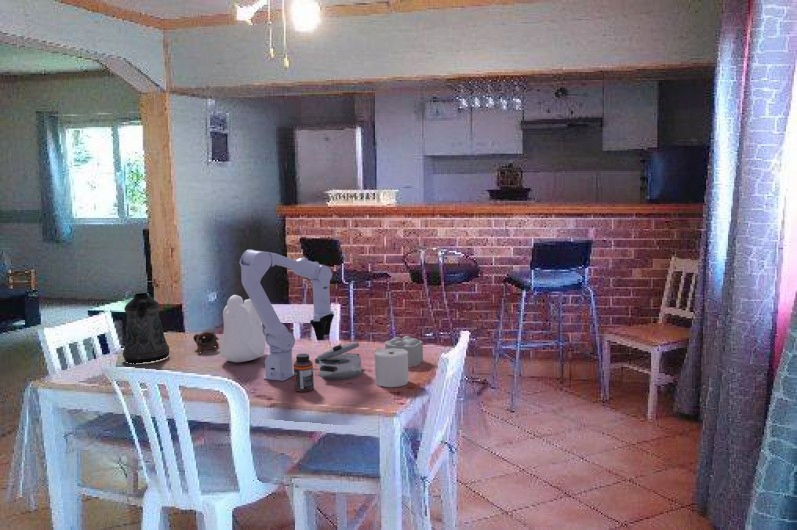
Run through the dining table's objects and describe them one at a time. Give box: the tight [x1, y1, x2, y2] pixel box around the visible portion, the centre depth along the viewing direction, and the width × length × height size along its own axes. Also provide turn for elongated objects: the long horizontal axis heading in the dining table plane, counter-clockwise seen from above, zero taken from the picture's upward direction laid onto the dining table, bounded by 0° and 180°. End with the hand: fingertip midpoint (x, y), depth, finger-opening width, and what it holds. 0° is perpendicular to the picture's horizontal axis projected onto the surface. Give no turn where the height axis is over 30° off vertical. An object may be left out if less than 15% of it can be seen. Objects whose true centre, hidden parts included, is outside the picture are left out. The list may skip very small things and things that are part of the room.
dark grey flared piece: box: [122, 292, 170, 364], centre depth 266 cm, size 16×19×25 cm
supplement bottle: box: [293, 353, 315, 393], centre depth 225 cm, size 6×6×11 cm
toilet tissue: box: [374, 347, 410, 388], centre depth 230 cm, size 11×12×10 cm
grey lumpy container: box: [384, 335, 424, 367], centre depth 253 cm, size 10×13×9 cm
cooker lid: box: [316, 341, 360, 360], centre depth 241 cm, size 15×15×2 cm
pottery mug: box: [193, 331, 220, 353], centre depth 279 cm, size 12×10×8 cm
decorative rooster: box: [219, 294, 267, 363], centre depth 264 cm, size 25×16×25 cm, turn 155°
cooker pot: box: [314, 352, 362, 381], centre depth 242 cm, size 19×16×5 cm
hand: (323, 337), depth 250 cm, fingers open, 7 cm apart
